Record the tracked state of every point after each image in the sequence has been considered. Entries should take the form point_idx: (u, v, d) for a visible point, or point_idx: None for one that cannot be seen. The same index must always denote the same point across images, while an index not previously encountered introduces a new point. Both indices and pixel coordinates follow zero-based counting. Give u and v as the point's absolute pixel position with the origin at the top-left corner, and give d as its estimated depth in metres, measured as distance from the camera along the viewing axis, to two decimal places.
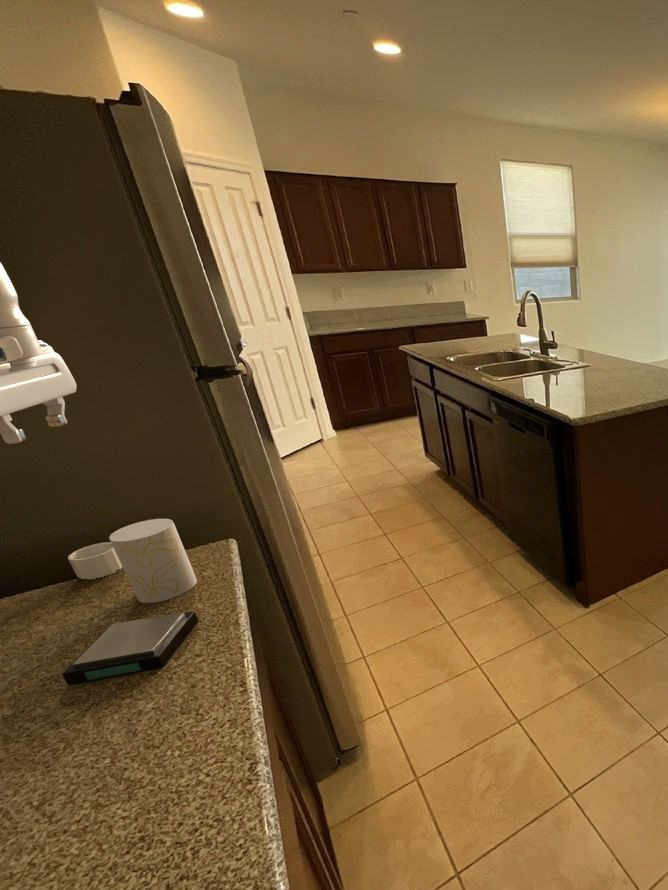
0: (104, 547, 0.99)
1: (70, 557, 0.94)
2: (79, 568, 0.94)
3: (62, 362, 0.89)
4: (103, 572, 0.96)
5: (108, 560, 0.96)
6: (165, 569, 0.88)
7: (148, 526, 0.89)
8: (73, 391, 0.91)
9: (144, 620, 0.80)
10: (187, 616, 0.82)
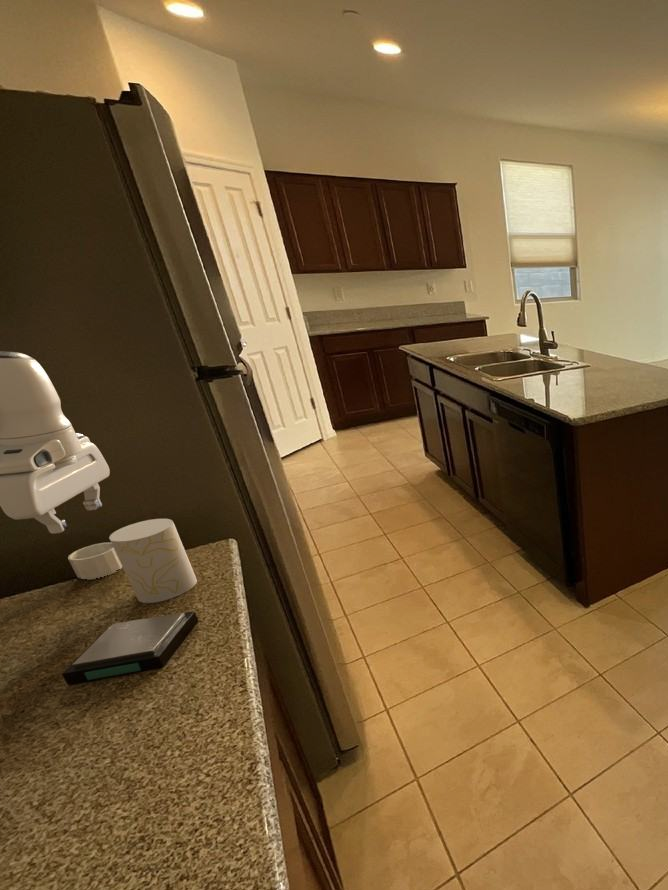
0: (104, 547, 0.99)
1: (70, 557, 0.94)
2: (79, 568, 0.94)
3: (97, 451, 0.98)
4: (103, 572, 0.96)
5: (108, 560, 0.96)
6: (165, 569, 0.88)
7: (148, 526, 0.89)
8: (107, 476, 1.00)
9: (144, 620, 0.80)
10: (187, 616, 0.82)
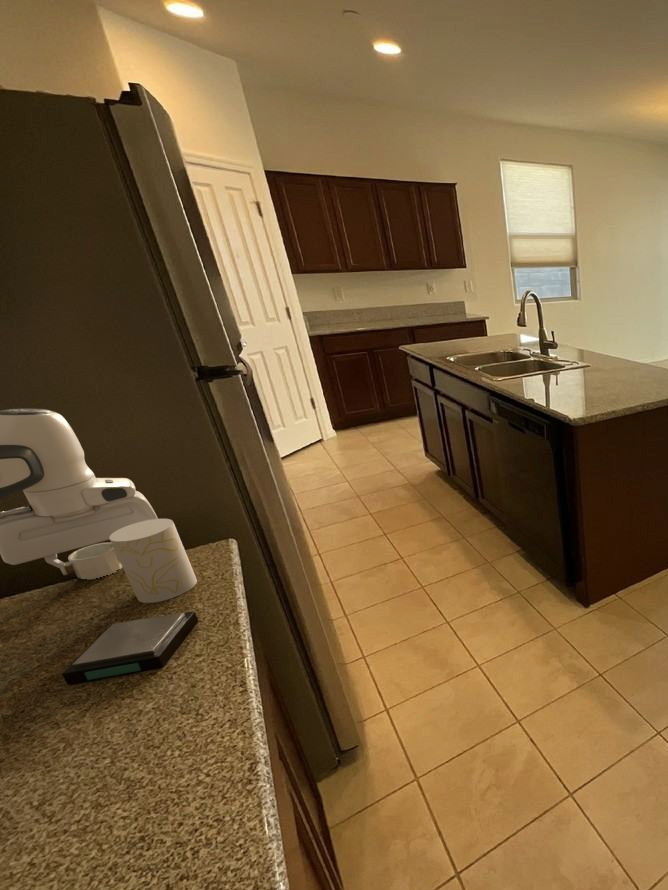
0: (104, 547, 0.99)
1: (70, 557, 0.94)
2: (79, 568, 0.94)
3: None
4: (103, 572, 0.96)
5: (108, 560, 0.96)
6: (165, 569, 0.88)
7: (148, 526, 0.89)
8: None
9: (144, 620, 0.80)
10: (187, 616, 0.82)
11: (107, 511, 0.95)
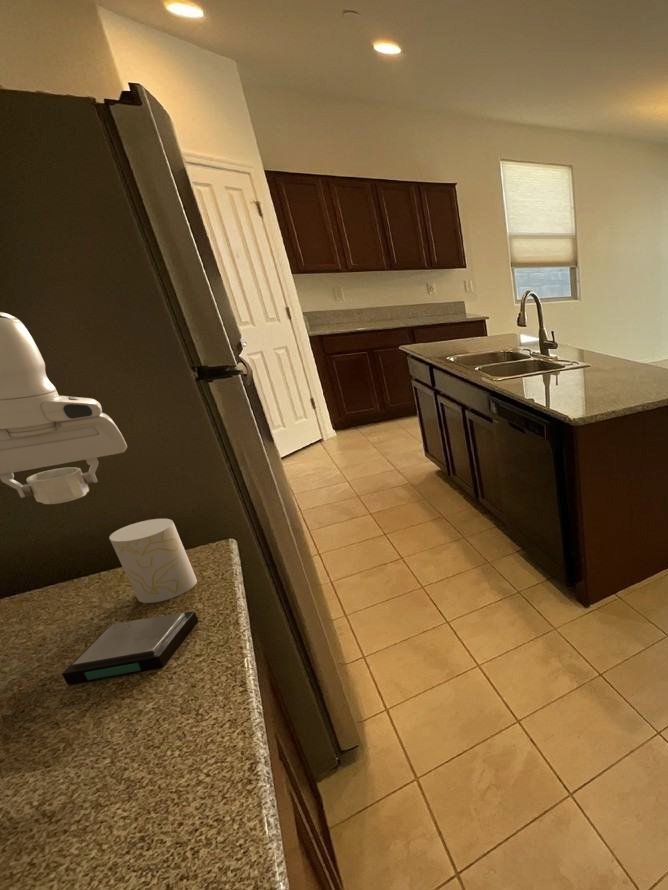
0: (67, 472, 0.93)
1: (28, 479, 0.88)
2: (38, 490, 0.87)
3: None
4: (65, 496, 0.89)
5: (70, 484, 0.90)
6: (165, 569, 0.88)
7: (148, 526, 0.89)
8: None
9: (144, 620, 0.80)
10: (187, 616, 0.82)
11: (69, 431, 0.89)
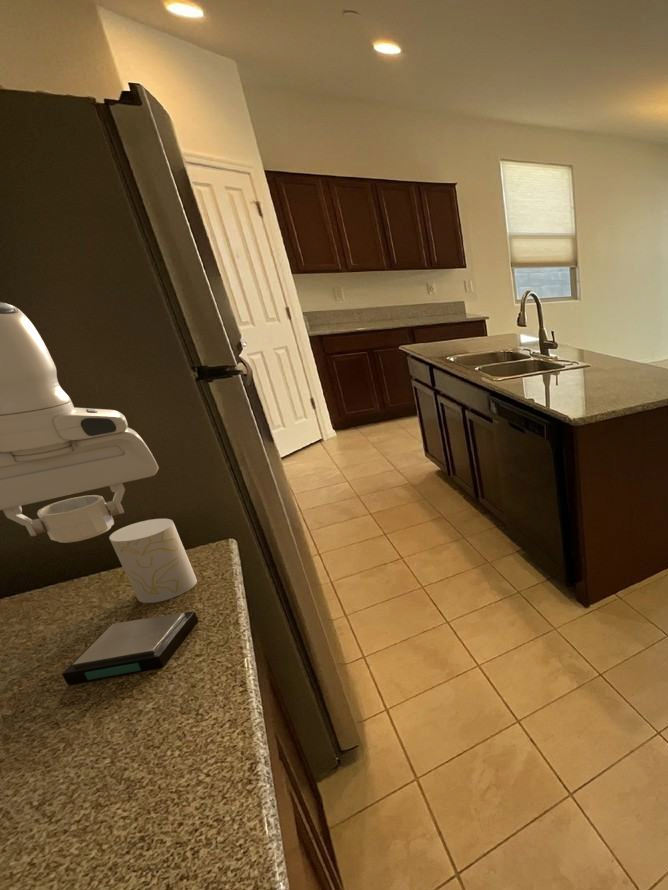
0: (87, 501, 0.75)
1: (40, 512, 0.70)
2: (52, 526, 0.70)
3: None
4: (86, 532, 0.72)
5: (92, 517, 0.72)
6: (165, 569, 0.88)
7: (148, 526, 0.89)
8: None
9: (144, 620, 0.80)
10: (187, 616, 0.82)
11: (89, 451, 0.71)
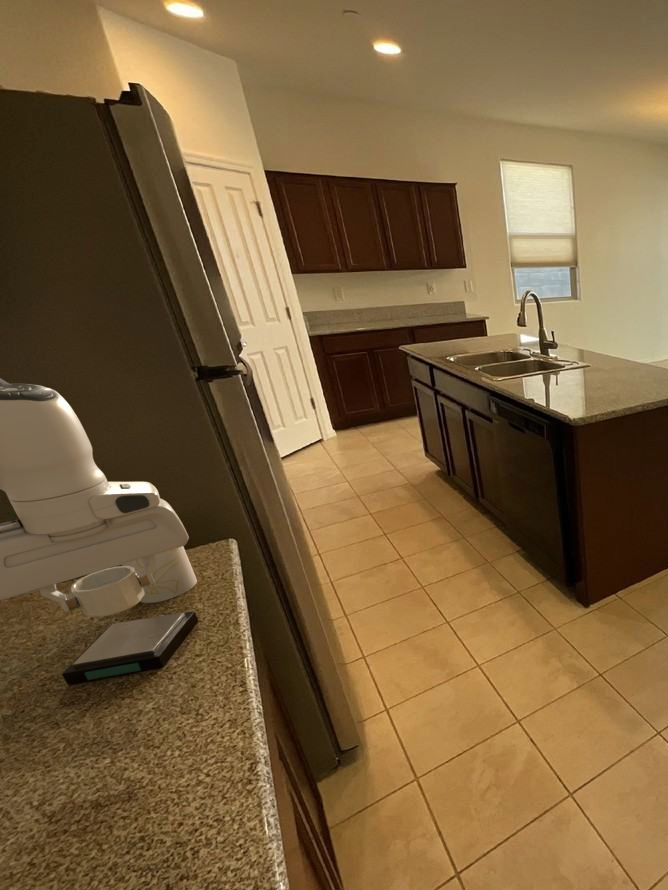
0: (118, 572, 0.76)
1: (73, 587, 0.71)
2: (86, 602, 0.70)
3: None
4: (118, 606, 0.72)
5: (124, 590, 0.73)
6: (165, 569, 0.88)
7: None
8: None
9: (144, 620, 0.80)
10: (187, 616, 0.82)
11: (122, 526, 0.72)
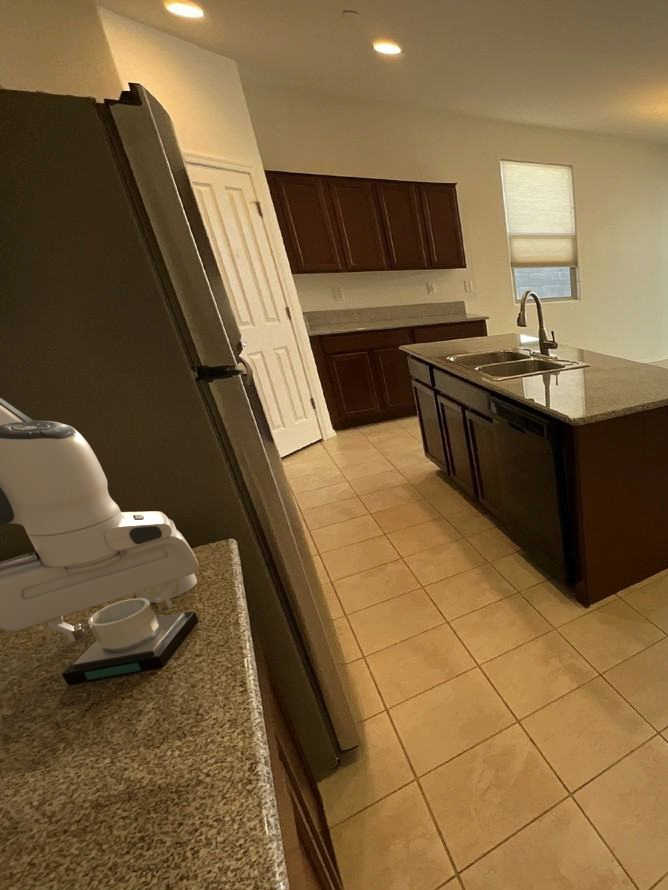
0: (133, 604, 0.78)
1: (91, 621, 0.73)
2: (102, 635, 0.73)
3: None
4: (133, 639, 0.74)
5: (139, 623, 0.75)
6: None
7: None
8: None
9: None
10: (187, 616, 0.82)
11: (135, 556, 0.74)
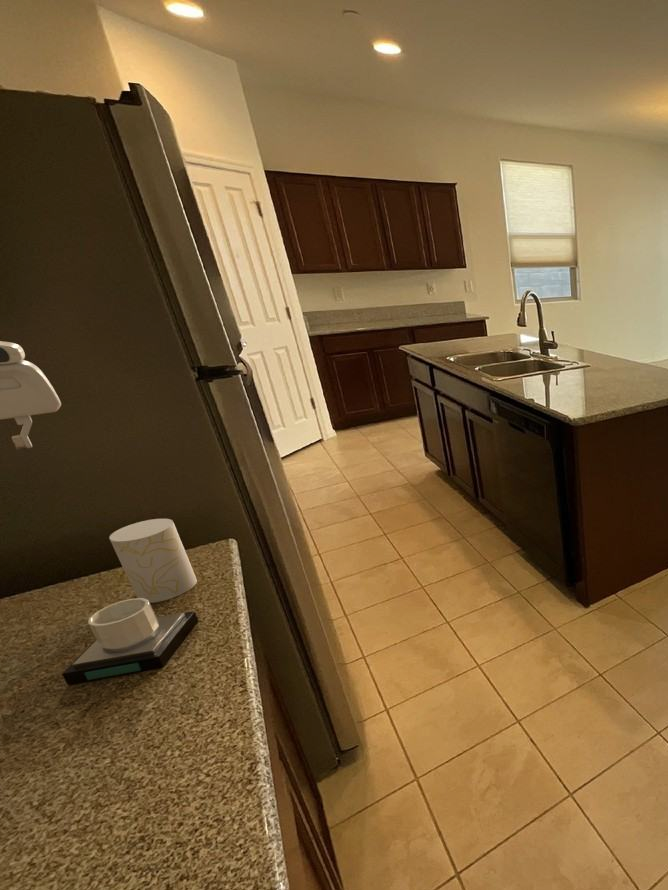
0: (133, 604, 0.78)
1: (91, 621, 0.73)
2: (102, 635, 0.73)
3: None
4: (133, 639, 0.74)
5: (139, 623, 0.75)
6: (165, 569, 0.88)
7: (148, 526, 0.89)
8: None
9: None
10: (187, 616, 0.82)
11: None
